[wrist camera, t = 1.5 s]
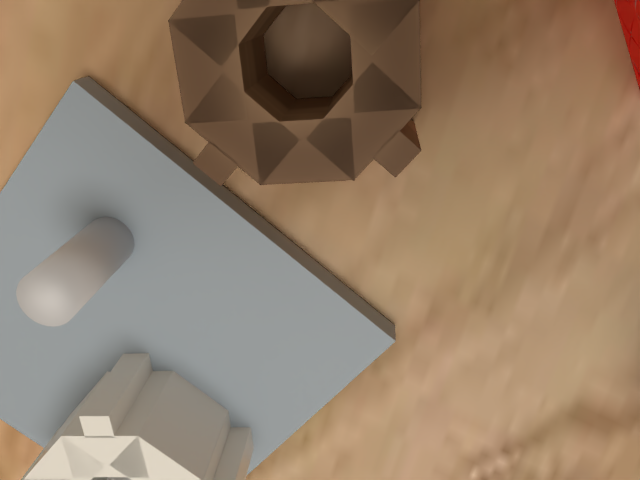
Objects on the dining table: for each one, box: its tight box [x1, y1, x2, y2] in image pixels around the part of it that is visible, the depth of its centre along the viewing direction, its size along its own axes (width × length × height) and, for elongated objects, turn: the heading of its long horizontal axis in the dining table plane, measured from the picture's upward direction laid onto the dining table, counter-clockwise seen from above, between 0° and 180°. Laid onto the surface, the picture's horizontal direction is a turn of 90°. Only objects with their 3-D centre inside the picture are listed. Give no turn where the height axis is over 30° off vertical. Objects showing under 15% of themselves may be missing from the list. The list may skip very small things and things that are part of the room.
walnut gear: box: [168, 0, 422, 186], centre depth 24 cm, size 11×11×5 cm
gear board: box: [0, 76, 396, 480], centre depth 29 cm, size 19×19×8 cm
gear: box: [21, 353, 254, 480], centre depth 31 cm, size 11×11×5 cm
